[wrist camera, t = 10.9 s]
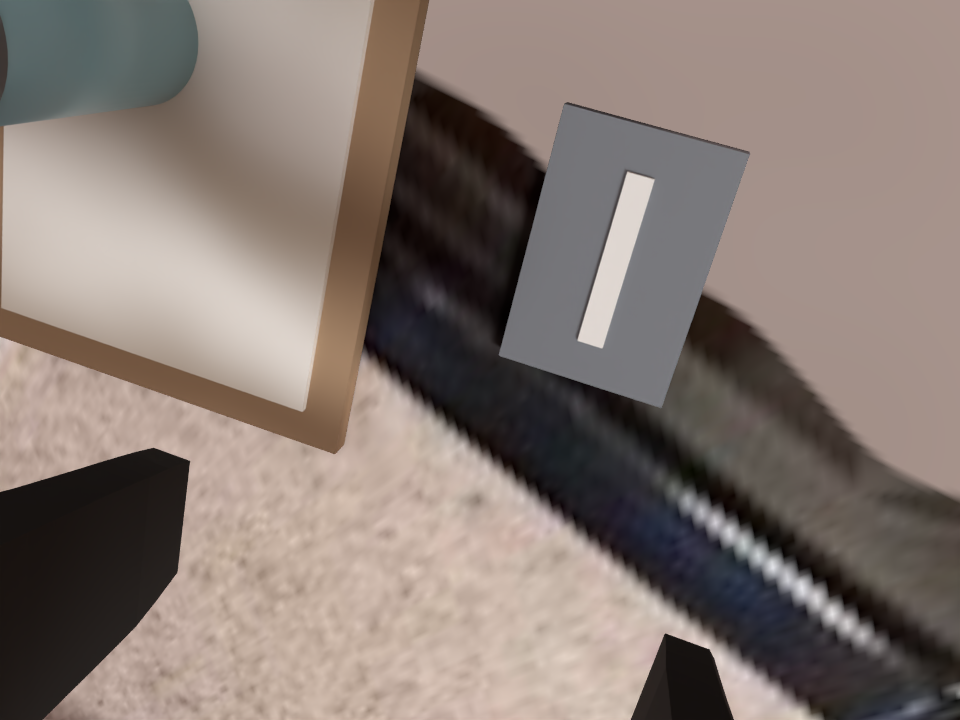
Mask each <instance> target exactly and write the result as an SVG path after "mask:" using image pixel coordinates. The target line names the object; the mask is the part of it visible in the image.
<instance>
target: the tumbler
mask: <svg viewBox="0 0 960 720" xmlns="http://www.w3.org/2000/svg"><path fill="white" fill-rule="evenodd" d="M197 55H198V31H197V25H196V21H195V17H194V14H193V11H192V9H191V6H190V4H189V2H188V0H0V126H7V125H14V124H22V123H29V122H36V121H44V120H51V119H58V118H65V117H73V116H80V115H87V114H95V113H102V112H109V111H116V110H124V109H131V108H138V107H146V106H153V105H157V104H161V103H164V102H166V101H168V100H170V99H172V98H173V97H175V96H176V95H177V94H178V93H179V92H181V90H182V89H183V88H184V87H185V86H186V84H187V83H188V81H189V79H190V78H191V75H192V73H193V71H194V68H195V64H196V61H197Z"/></svg>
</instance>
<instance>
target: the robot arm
mask: <svg viewBox="0 0 960 720" xmlns="http://www.w3.org/2000/svg"><path fill="white" fill-rule="evenodd" d="M189 465H190V461H188V460H186V459H183V458H180V457H177V456H175V455H172V454H169V453H166V452H164V451H161V450H158V449H155V448H151V449H147V450H142V451H138V452H134V453H131V454H127V455H124V456H120V457H117V458H113V459H110V460H107V461H103V462H100V463H97V464H94V465H90V466H87V467H84V468H81V469H77V470H74V471H71V472H68V473H64V474H61V475H58V476H54V477H51V478H48V479H44V480H41V481H38V482H34V483H31V484H28V485H24V486H21V487H17V488H14V489H10V490H6V491H3V492H0V720H43V719H44V718H45V717H46V716H47V715H48V714H49V713H50V712H51V711H52V710H53V709H54V708H55V707H56V706H57V705H58V704H59V703H60V702H61V701H62V700H63V699H64V698H65V697H66V696H67V695H68V694H69V693H70V692H71V691H72V690H73V689H74V688H75V687H76V686H77V685H78V684H79V683H80V682H81V681H82V680H83V679H84V678H85V677H86V676H87V675H88V674H89V673H90V672H91V671H92V670H93V669H94V668H95V667H96V666H97V665H98V664H99V663H100V662H101V661H102V660H103V659H104V658H105V657H106V656H107V655H108V654H109V653H110V652H111V651H112V650H113V649H114V648H115V647H116V646H117V645H118V644H119V643H120V642H121V641H122V640H123V639H124V638H125V637H126V636H127V635H128V634H129V633H130V632H131V631H132V630H133V629H134V628H135V627H136V626H137V624H138V623H139V622H140V621H141V619H142V618H143V617H144V616H145V614H146V613H147V612H148V611H149V609H150V608H151V607H152V606H153V604H154V603H155V602H156V600H157V599H158V598H159V596H160V595H161V594H162V592H163V591H164V590H165V588H166V587H167V586H168V584H169V583H170V582H171V580H172V579H173V578H174V576H175V575H176V574H177V571H178V562H179V554H180V545H181V536H182V527H183V518H184V509H185V501H186V492H187V483H188V474H189ZM631 720H734V719H733V716H732V713H731V710H730V707H729V704H728V701H727V698H726V695H725V692H724V689H723V686H722V683H721V680H720V676H719V673H718V670H717V666H716V663H715V660H714V658H713V656H712V654H711V652H710V650H709V649H707V648H704V647H701V646H698V645H696V644H693V643H690V642H687V641H685V640H682V639H679V638H676V637H673V636H671V635H668V634H665V635H664V637H663V640H662V642H661V645H660V647H659V650H658V652H657V655H656V658H655V660H654V663H653V665H652V668H651V670H650V673H649V675H648V678H647V680H646V683H645V685H644V688H643V690H642V693H641V695H640V698H639V700H638V703H637V706H636V708H635V711H634V713H633V716H632V718H631Z"/></svg>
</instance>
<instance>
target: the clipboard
mask: <svg viewBox="0 0 960 720" xmlns="http://www.w3.org/2000/svg"><path fill="white" fill-rule="evenodd" d="M188 2H189V4H190V6H191V9H192V11H193V14H194V17H195V21H196V25H197V31H198V55H197V61H196V64H195V68H194V71H193V73H192V75H191V78H190V79H189V81H188V83H187V84H186V86H185V87H184V88H183V89H182V90H181V92H179V93H178V94H177V95H176V96H175V97H173V98H172V99H170V100H168V101H166V102H164V103H161V104H157V105H153V106H146V107H138V108H131V109H124V110H116V111H109V112H102V113H95V114H87V115H80V116H73V117H65V118H58V119H51V120H44V121H36V122H29V123H22V124H14V125H7V126H0V337H3V338H6V339H8V340H11V341H14V342H17V343H20V344H23V345H26V346H28V347H31V348H34V349H37V350H40V351H43V352H45V353H48V354H51V355H54V356H57V357H60V358H62V359H65V360H68V361H71V362H74V363H77V364H80V365H82V366H85V367H88V368H91V369H94V370H97V371H99V372H102V373H105V374H108V375H111V376H114V377H117V378H119V379H122V380H125V381H128V382H131V383H134V384H136V385H139V386H142V387H145V388H148V389H151V390H154V391H156V392H159V393H162V394H165V395H168V396H171V397H173V398H176V399H179V400H182V401H185V402H188V403H190V404H193V405H196V406H199V407H202V408H205V409H208V410H210V411H213V412H216V413H219V414H222V415H225V416H227V417H230V418H233V419H236V420H239V421H242V422H245V423H247V424H250V425H253V426H256V427H259V428H262V429H264V430H267V431H270V432H273V433H276V434H279V435H282V436H284V437H287V438H290V439H293V440H296V441H299V442H301V443H304V444H307V445H310V446H313V447H316V448H319V449H321V450H324V451H327V452H330V453H333V454H336V453H337V451H338V450H339V449H340V448H341V447H342V446H343V445H344V442H345V437H346V432H347V426H348V421H349V416H350V411H351V405H352V400H353V395H354V390H355V385H356V379H357V374H358V369H359V364H360V359H361V353H362V348H363V343H364V338H365V332H366V327H367V322H368V317H369V312H370V306H371V301H372V296H373V291H374V285H375V280H376V275H377V270H378V265H379V259H380V254H381V249H382V244H383V238H384V233H385V228H386V223H387V218H388V212H389V207H390V202H391V197H392V191H393V186H394V181H395V176H396V171H397V165H398V160H399V155H400V150H401V145H402V139H403V134H404V129H405V124H406V118H407V113H408V108H409V103H410V98H411V92H412V87H413V82H414V77H415V71H416V66H417V61H418V56H419V50H420V45H421V40H422V35H423V30H424V24H425V19H426V14H427V9H428V3H429V0H188Z"/></svg>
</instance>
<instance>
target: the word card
mask: <svg viewBox="0 0 960 720" xmlns="http://www.w3.org/2000/svg"><path fill="white" fill-rule="evenodd" d="M749 155H750V153H749V152H748V151H744V150H740V149H737V148H733V147H730V146H726V145H722V144H719V143H715V142H711V141H708V140H704V139H700V138H696V137H693V136H689V135H686V134H682V133H678V132H674V131H671V130H667V129H663V128H660V127H656V126H653V125H649V124H645V123H641V122H638V121H634V120H631V119H627V118H623V117H620V116H616V115H612V114H608V113H605V112H601V111H598V110H594V109H590V108H587V107H582V106H579V105H575V104H572V103H568V102H567V103H565V104H564V106H563V110H562V114H561V118H560V122H559V126H558V130H557V133H556V137H555V141H554V145H553V149H552V153H551V157H550V160H549V164H548V168H547V172H546V176H545V180H544V183H543V187H542V191H541V195H540V199H539V203H538V207H537V210H536V214H535V218H534V222H533V226H532V230H531V234H530V237H529V241H528V245H527V249H526V253H525V257H524V261H523V264H522V268H521V272H520V276H519V280H518V284H517V288H516V291H515V295H514V299H513V303H512V307H511V311H510V314H509V318H508V322H507V326H506V330H505V334H504V338H503V341H502V345H501V349H500V353H499V356H502V357H505V358H508V359H511V360H514V361H517V362H520V363H523V364H526V365H530V366H533V367H536V368H539V369H542V370H545V371H548V372H551V373H554V374H557V375H560V376H564V377H567V378H570V379H573V380H576V381H579V382H582V383H585V384H588V385H591V386H595V387H598V388H601V389H604V390H607V391H610V392H613V393H616V394H619V395H622V396H626V397H629V398H632V399H635V400H638V401H641V402H644V403H647V404H650V405H653V406H657V407H660V408H661V407H662V405H663V402H664V399H665V396H666V393H667V390H668V387H669V384H670V382H671V379H672V376H673V373H674V370H675V367H676V364H677V362H678V359H679V356H680V353H681V350H682V347H683V344H684V341H685V339H686V336H687V333H688V330H689V327H690V324H691V321H692V319H693V316H694V313H695V310H696V307H697V304H698V301H699V298H700V296H701V293H702V290H703V287H704V284H705V281H706V278H707V275H708V273H709V269H710V267H711V264H712V261H713V258H714V255H715V253H716V249H717V247H718V244H719V241H720V238H721V235H722V232H723V230H724V227H725V224H726V221H727V218H728V215H729V212H730V209H731V207H732V204H733V201H734V198H735V195H736V192H737V189H738V187H739V184H740V181H741V178H742V175H743V172H744V169H745V167H746V164H747V161H748V158H749Z"/></svg>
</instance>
